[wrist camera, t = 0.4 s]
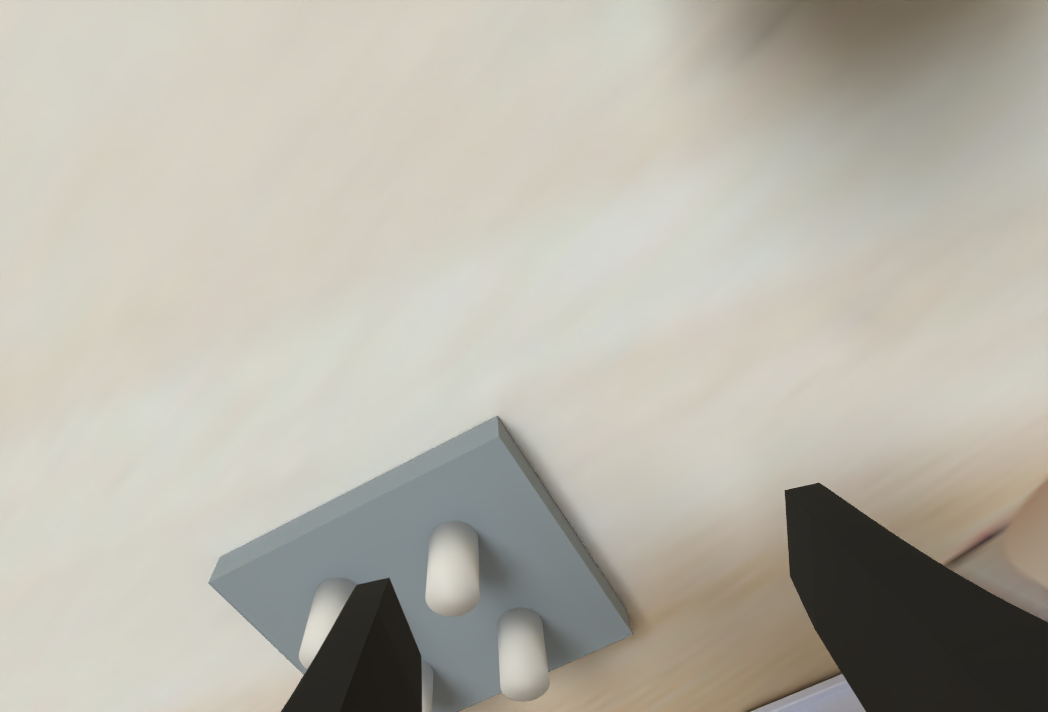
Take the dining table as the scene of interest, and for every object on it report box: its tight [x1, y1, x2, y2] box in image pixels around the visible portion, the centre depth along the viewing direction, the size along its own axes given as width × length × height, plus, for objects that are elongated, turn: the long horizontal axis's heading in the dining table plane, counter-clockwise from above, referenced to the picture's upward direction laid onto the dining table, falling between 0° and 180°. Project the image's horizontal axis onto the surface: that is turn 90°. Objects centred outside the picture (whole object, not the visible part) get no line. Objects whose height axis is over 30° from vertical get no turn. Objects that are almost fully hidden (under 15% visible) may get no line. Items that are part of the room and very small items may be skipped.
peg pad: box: [208, 416, 633, 712], centre depth 23 cm, size 10×11×4 cm
